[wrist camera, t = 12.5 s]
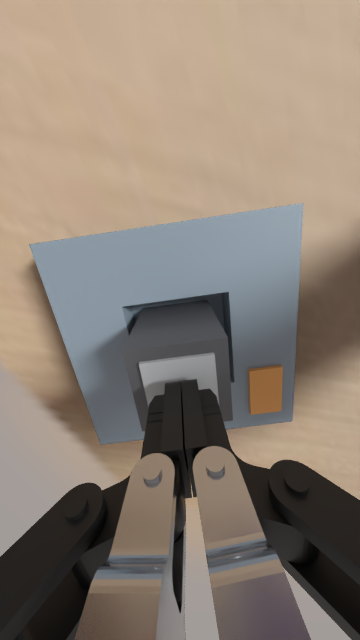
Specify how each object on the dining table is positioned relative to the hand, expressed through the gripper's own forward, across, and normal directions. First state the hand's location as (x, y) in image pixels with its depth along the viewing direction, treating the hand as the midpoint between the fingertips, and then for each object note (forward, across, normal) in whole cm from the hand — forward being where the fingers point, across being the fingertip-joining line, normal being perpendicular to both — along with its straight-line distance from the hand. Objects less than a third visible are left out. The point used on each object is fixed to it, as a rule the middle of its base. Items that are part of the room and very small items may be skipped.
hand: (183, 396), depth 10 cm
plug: (+8, 0, 0) cm, 8 cm away
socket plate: (+8, 0, 0) cm, 8 cm away
